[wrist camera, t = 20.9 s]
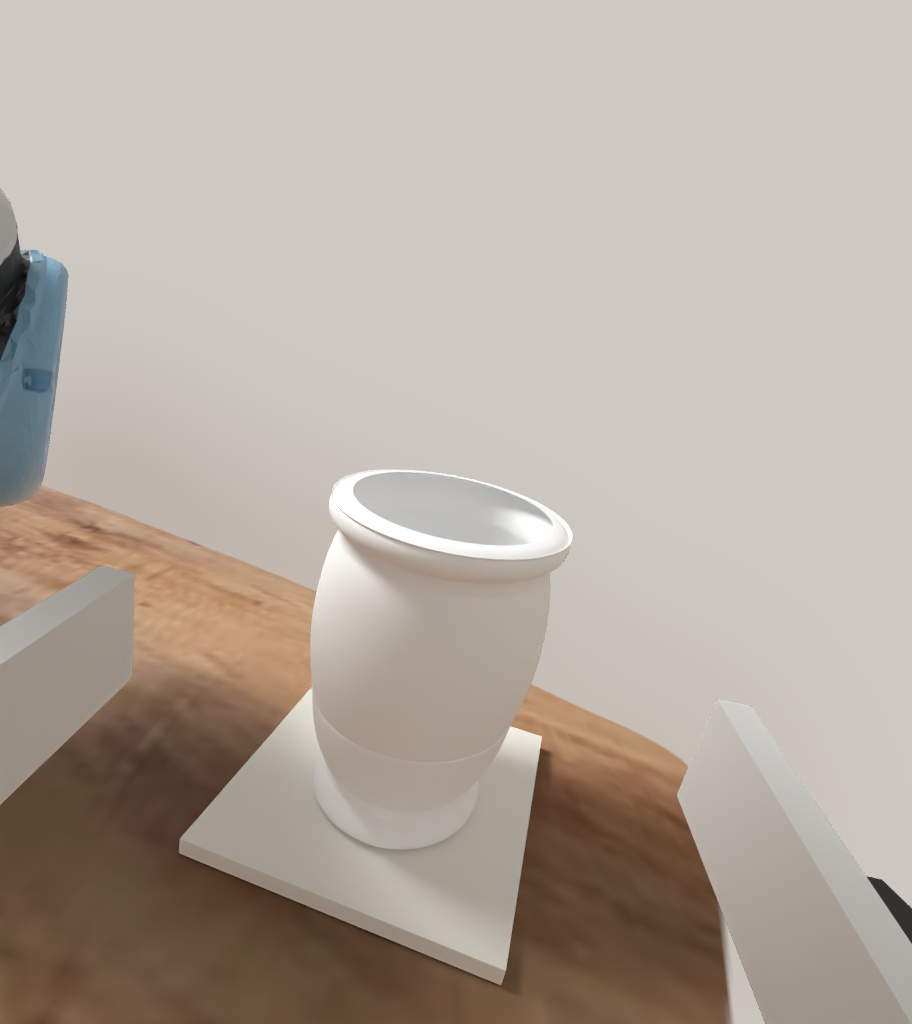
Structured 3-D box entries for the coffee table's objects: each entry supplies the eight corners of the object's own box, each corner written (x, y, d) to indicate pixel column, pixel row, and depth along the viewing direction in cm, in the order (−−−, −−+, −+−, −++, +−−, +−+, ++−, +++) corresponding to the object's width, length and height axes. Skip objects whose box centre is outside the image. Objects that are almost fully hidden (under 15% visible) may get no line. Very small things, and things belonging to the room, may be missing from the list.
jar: (356, 689, 35) (396, 454, 30) (516, 754, 33) (587, 508, 28) (241, 813, 25) (275, 496, 21) (457, 920, 23) (551, 585, 18)
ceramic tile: (178, 853, 24) (179, 838, 24) (327, 677, 37) (329, 666, 37) (501, 985, 22) (505, 970, 21) (538, 747, 35) (541, 736, 34)
